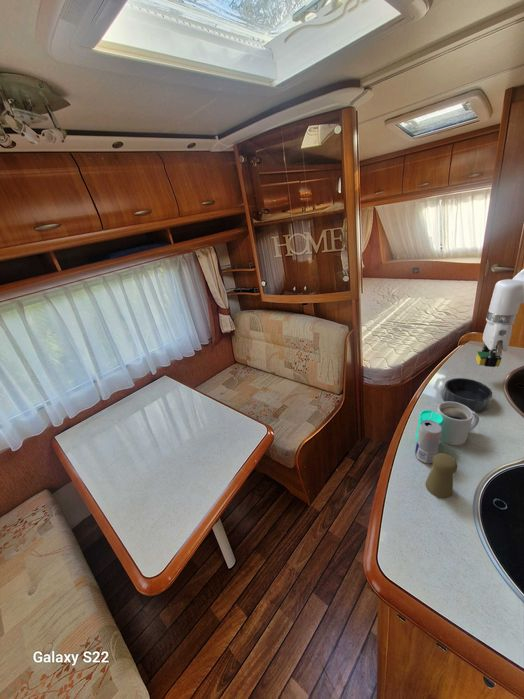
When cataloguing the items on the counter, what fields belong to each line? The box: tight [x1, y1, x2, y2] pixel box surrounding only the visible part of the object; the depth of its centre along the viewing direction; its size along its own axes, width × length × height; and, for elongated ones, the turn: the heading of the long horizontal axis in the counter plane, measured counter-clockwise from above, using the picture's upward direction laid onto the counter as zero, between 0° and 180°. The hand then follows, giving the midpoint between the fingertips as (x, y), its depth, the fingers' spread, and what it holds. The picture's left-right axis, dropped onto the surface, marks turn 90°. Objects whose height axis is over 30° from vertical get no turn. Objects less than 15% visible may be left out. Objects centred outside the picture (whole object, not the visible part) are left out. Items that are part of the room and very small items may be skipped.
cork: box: [425, 452, 459, 499], centre depth 69 cm, size 6×6×11 cm
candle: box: [415, 409, 443, 444], centre depth 82 cm, size 6×6×12 cm
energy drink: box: [414, 420, 442, 464], centre depth 78 cm, size 5×5×12 cm
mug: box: [436, 401, 480, 446], centre depth 84 cm, size 11×10×10 cm
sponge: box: [475, 350, 502, 368], centre depth 100 cm, size 6×4×4 cm
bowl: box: [442, 377, 493, 414], centre depth 97 cm, size 14×14×6 cm
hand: (487, 362), depth 101 cm, fingers closed on sponge, 4 cm apart
